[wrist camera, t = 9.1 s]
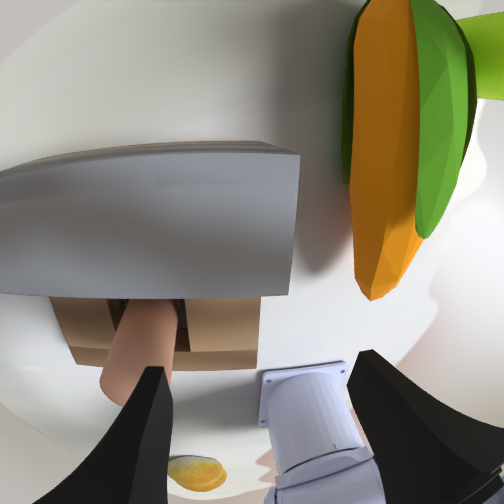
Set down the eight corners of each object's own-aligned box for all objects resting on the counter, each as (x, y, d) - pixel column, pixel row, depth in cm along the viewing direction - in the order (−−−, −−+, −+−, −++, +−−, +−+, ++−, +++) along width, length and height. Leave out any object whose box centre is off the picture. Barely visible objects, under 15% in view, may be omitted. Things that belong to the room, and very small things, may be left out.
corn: (493, 4, 6) (449, 331, 14) (425, 25, 13) (397, 273, 21) (381, -59, 5) (344, 345, 13) (333, -6, 12) (310, 272, 20)
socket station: (252, 345, 22) (268, 431, 15) (85, 343, 20) (55, 419, 13) (260, 141, 16) (300, 155, 8) (42, 158, 14) (-42, 188, 7)
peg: (179, 325, 20) (170, 415, 13) (132, 319, 20) (106, 405, 12) (181, 283, 19) (167, 374, 12) (129, 277, 18) (93, 362, 11)
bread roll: (215, 451, 30) (217, 477, 26) (229, 472, 34) (232, 493, 30) (156, 454, 29) (154, 478, 26) (178, 475, 33) (178, 496, 30)
